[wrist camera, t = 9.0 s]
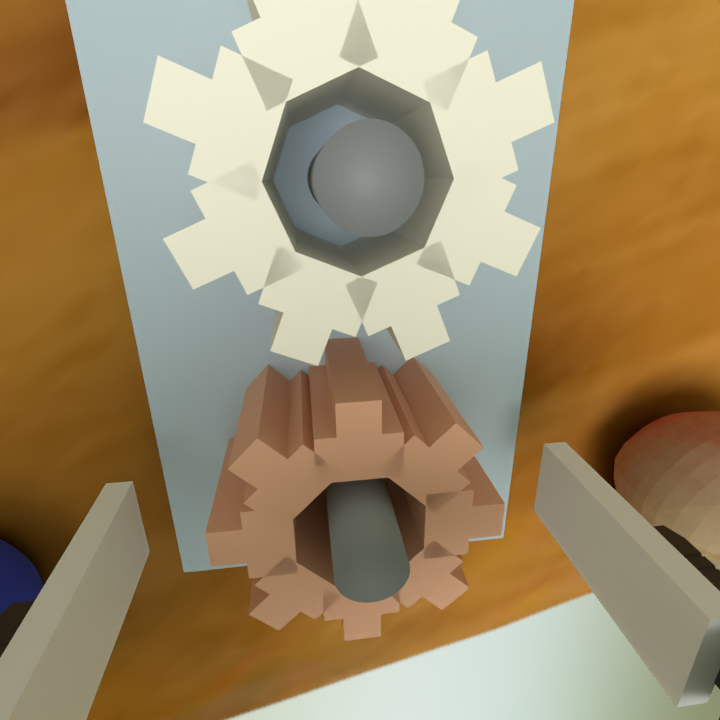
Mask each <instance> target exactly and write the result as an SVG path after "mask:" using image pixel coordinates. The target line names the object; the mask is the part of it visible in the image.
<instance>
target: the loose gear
mask: <svg viewBox="0 0 720 720" xmlns="http://www.w3.org/2000/svg"><path fill="white" fill-rule="evenodd" d="M483 448H484V447H483V445H482V444H481V443H480V441H479V440H478V438H477V437H476V435H475V434H474V432H473V431H472V430H471V428H470V427H469V425H468V424H467V422H466V421H465V419H464V418H463V417H462V415H461V414H460V412H459V411H458V409H457V408H456V406H455V405H454V404H453V402H452V401H451V399H450V398H449V396H448V395H447V394H446V392H445V391H444V389H443V388H442V386H441V385H440V383H439V382H438V381H437V379H436V378H435V376H434V375H433V374H432V373H431V372H430V371H429V370H428V369H426V368H425V367H424V366H423V365H422V364H421V363H420V362H419V361H418V360H417V359H416V358H414V357H413V358H411V359H409V360H408V361H407V362H406V363H405V364H404V365H403V366H402V367H400V368H399V369H398V370H397V371H396V372H395V373H394V374H392V373H391V372H390V371H389V370H388V369H387V368H385V367H384V366H383V365H381V366H380V367H379V368H378V369H377V367H376V364H375V362H369V363H368V362H367V360H366V357H365V354H364V352H363V349H362V347H361V344H360V341H359V339H358V337H353V338H334V339H328V342H327V344H326V347H325V365H320V366H309V376H308V375H307V374H306V373H304V372H303V371H302V370H300V371H299V372H298V373H297V374H296V375H295V376H294V377H293V379H292V380H291V381H289V380H288V379H286V378H285V377H284V376H283V375H281V374H280V373H279V372H277V371H276V370H275V369H274V368H272V367H271V366H270V365H269V364H268V365H267V366H266V367H265V369H264V370H263V371H262V372H261V373H260V374H259V375H258V376H257V377H256V378H255V379H254V380H253V381H252V382H251V383H250V385H249V386H248V387H247V388H246V392H245V396H244V401H243V405H242V409H241V413H240V418H239V422H238V426H237V430H236V435H235V437H234V438H229V442H228V446H227V450H226V454H225V458H224V461H223V465H222V469H221V473H220V477H219V481H218V485H217V489H216V493H215V497H214V501H213V505H212V508H211V512H210V516H209V520H208V524H207V528H206V532H205V536H206V542H207V547H208V553H209V559H210V564H211V567H215V566H224V565H233V564H242V563H247V567H248V574H249V579H251V578H252V586H251V595H250V604H249V614H248V615H250V616H252V617H254V618H256V619H258V620H260V621H262V622H264V623H265V624H267V625H269V626H271V627H273V628H275V629H277V630H280V629H282V628H283V627H284V626H285V625H286V624H287V623H288V622H289V621H290V620H292V619H293V618H294V617H295V616H296V615H297V614H298V613H299V612H302V613H304V614H306V615H308V616H309V617H311V618H313V619H316V618H318V617H319V616H320V615H321V614H322V613H323V612H324V621H330V620H338V619H342V624H343V634H344V641H348V640H356V639H364V638H371V637H379V636H381V614H386V613H394V612H400V603H401V604H403V605H404V606H406V607H407V608H409V607H410V606H411V605H413V604H414V603H415V602H416V601H417V600H418V599H420V598H421V597H423V598H425V599H426V600H428V601H429V602H431V603H432V604H434V605H435V606H437V607H438V608H440V609H441V610H443V609H444V608H445V607H447V606H448V605H449V604H450V603H452V602H453V601H454V600H455V599H456V598H458V597H459V596H460V595H461V594H462V593H464V592H465V591H466V590H467V589H468V588H469V585H468V583H467V580H466V578H465V576H464V573H463V571H462V569H461V566H460V564H461V563H462V562H463V559H462V557H461V555H464V554H468V547H469V539H472V538H482V537H491V536H500V535H501V531H502V523H503V515H504V508H505V503H504V501H503V500H502V498H501V496H500V495H499V493H498V492H497V490H496V489H495V487H494V485H493V484H492V482H491V481H490V479H489V478H488V476H487V475H486V473H485V471H484V470H483V468H482V467H481V465H480V464H479V462H478V460H477V459H476V457H475V455H476V454H477V453H478V452H479V451H480V450H481V449H483ZM378 478H385V482H386V485H387V489H388V492H389V495H390V499H391V502H392V506H393V509H394V512H395V516H396V519H397V523H398V526H399V529H400V533H401V536H402V540H403V543H404V547H405V550H406V553H407V557H408V560H409V564H410V574H409V578H408V580H407V582H406V583H405V585H404V586H403V587H402V588H401V589H400V590H399V591H398V592H397V593H396V594H394V595H392V596H391V597H389V598H387V599H384V600H381V601H377V602H370V603H362V602H356V601H353V600H350V599H348V598H346V597H345V596H343V595H342V594H341V593H340V592H339V591H338V590H337V588H336V586H335V583H334V574H333V564H332V553H331V543H330V532H329V521H328V511H327V500H326V489H325V488H326V487H327V486H329V485H330V484H331V483H334V482H345V481H356V480H367V479H378Z"/></svg>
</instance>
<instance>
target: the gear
mask: <svg viewBox="0 0 720 720" xmlns="http://www.w3.org/2000/svg"><path fill="white" fill-rule="evenodd" d="M459 1H460V0H247V3H248V7H249V10H250V14H251V18H252V22H250V23H248V24H246V25H244V26H242V27H240V28H238V29H236V30H234V31H231V32H232V34H233V37H234V39H235V41H236V43H237V46H238V48H239V50H240V52H241V54H242V55H240V54H238V53H236V52H234V51H232V50H230V49H227V48H225V47H223V46H220V50H219V54H218V58H217V62H216V66H215V70H214V74H213V78H212V79H209V78H207V77H205V76H203V75H201V74H198V73H196V72H194V71H192V70H190V69H187V68H185V67H183V66H181V65H178V64H176V63H174V62H172V61H170V60H167V59H165V58H163V57H161V56H159V55H158V56H157V61H156V66H155V70H154V75H153V79H152V84H151V89H150V93H149V98H148V102H147V107H146V112H145V116H144V121H143V123H146V124H148V125H151V126H153V127H155V128H158V129H160V130H163V131H165V132H167V133H170V134H172V135H175V136H177V137H180V138H182V139H184V140H187V141H189V142H192V143H194V144H196V145H195V149H194V153H193V156H192V160H191V164H190V168H189V172H188V175H191V176H193V177H196V178H198V179H201V180H203V181H206V182H208V183H205V184H203V185H201V186H199V187H197V188H195V189H193V190H191V193H192V195H193V197H194V199H195V200H196V202H197V204H198V206H199V208H200V210H201V211H202V213H203V215H204V217H205V219H204V220H202V221H200V222H197V223H195V224H193V225H191V226H189V227H187V228H185V229H183V230H180V231H178V232H176V233H174V234H172V235H170V236H168V237H166V238H163V240H164V242H165V243H166V245H167V247H168V248H169V250H170V252H171V253H172V255H173V257H174V258H175V260H176V262H177V263H178V265H179V267H180V268H181V270H182V272H183V273H184V275H185V277H186V278H187V280H188V282H189V283H190V285H191V287H192V289H193V290H194V289H196V288H198V287H200V286H202V285H205V284H207V283H209V282H211V281H213V280H215V279H217V278H220V277H222V276H224V275H226V274H228V273H230V272H233V271H234V272H235V273H236V275H237V277H238V279H239V281H240V283H241V284H242V286H243V288H244V290H245V292H246V293H247V295H249V294H251V293H253V292H255V291H257V290H259V289H262V288H263V290H262V293H261V296H260V300H259V303H258V304H260V305H262V306H265V307H268V308H271V309H274V310H276V316H275V322H274V329H273V336H272V342H271V349H270V351H271V352H275V353H278V354H281V355H284V356H287V357H291V358H294V359H297V360H300V361H303V362H306V363H310V364H313V365H316V366H318V365H319V362H320V360H321V357H322V355H323V352H324V349H325V347H326V344H327V342H328V339H329V336H330V334H331V331H332V329H333V330H336V331H339V332H342V333H345V334H348V335H351V336H354V337H356V335H357V333H358V330H359V328H360V325H361V323H363V325H364V328H365V330H366V332H367V334H368V336H370V335H373V334H375V333H377V332H379V331H381V330H384V329H386V328H387V330H388V332H389V333H390V335H391V337H392V338H393V340H394V342H395V343H396V345H397V347H398V348H399V350H400V352H401V353H402V355H403V357H404V358H405V360H409V359H411V358H413V357H415V356H417V355H420V354H422V353H424V352H426V351H429V350H431V349H433V348H435V347H438V346H440V345H442V344H444V343H446V342H449V341H450V339H449V337H448V334H447V331H446V328H445V326H444V323H443V320H442V318H441V315H440V312H439V310H438V307H437V305H439V304H441V303H443V302H445V301H448V300H450V299H452V298H454V297H457V296H459V295H460V294H459V291H458V288H457V285H456V282H455V280H457V281H459V282H462V283H464V284H467V285H470V283H471V281H472V279H473V277H474V275H475V273H476V271H477V269H478V266H479V264H480V262H483V263H485V264H488V265H490V266H492V267H495V268H497V269H500V270H502V271H504V272H507V273H509V274H512V275H514V276H517V274H518V273H519V271H520V269H521V267H522V265H523V263H524V261H525V259H526V257H527V255H528V253H529V251H530V249H531V247H532V245H533V243H534V241H535V239H536V237H537V235H538V233H539V231H540V229H541V228H540V227H538V226H535V225H533V224H531V223H529V222H527V221H524V220H522V219H520V218H518V217H515V216H513V215H511V214H509V213H507V212H504V211H505V209H506V207H507V205H508V203H509V201H510V199H511V197H512V195H513V192H514V190H515V188H516V186H517V185H516V184H514V183H511V182H509V181H507V180H505V179H503V177H505V176H507V175H509V174H511V173H513V172H516V171H518V166H517V162H516V158H515V154H514V150H513V147H512V143H511V142H513V141H515V140H517V139H519V138H522V137H524V136H526V135H528V134H530V133H532V132H535V131H537V130H539V129H541V128H543V127H545V126H548V125H550V124H552V123H554V117H553V113H552V108H551V103H550V99H549V94H548V90H547V85H546V81H545V76H544V71H543V67H542V62H541V61H540V62H538V63H536V64H534V65H532V66H530V67H528V68H526V69H523V70H521V71H519V72H517V73H515V74H513V75H511V76H508V77H506V78H504V79H502V80H500V81H498V82H496V81H495V77H494V73H493V69H492V65H491V61H490V58H489V54H488V50H487V51H485V52H483V53H481V54H478V55H476V56H474V57H472V58H470V55H471V53H472V50H473V48H474V45H475V43H476V40H477V38H478V37H477V36H475V35H474V34H472V33H470V32H468V31H466V30H465V29H463V28H461V27H459V26H457V25H455V24H454V23H452V19H453V17H454V14H455V12H456V9H457V6H458V4H459ZM469 58H470V59H469ZM337 104H338V105H340V106H342V107H344V108H346V109H349V110H351V111H353V112H355V113H357V114H359V115H361V116H364V117H366V118H368V119H379V120H383V121H387V122H389V123H392V124H394V125H395V126H397V127H399V128H400V129H402V130H403V131H404V132H405V133H406V134H407V135H408V136H409V137H410V138H411V139H412V141H413V142H414V143H415V145H416V147H417V149H418V150H419V153H420V155H421V158H422V162H423V167H424V188H423V193H422V197H421V199H420V202H419V204H418V206H417V208H416V210H415V211H414V213H413V215H412V216H411V217H410V218H409V219H408V220H407V221H406V222H405V223H404V224H403V225H402V226H401V227H399V228H398V229H396V230H394V231H393V232H391V233H388V234H385V235H382V236H377V237H360V238H358V239H356V240H354V241H352V242H349V243H347V244H345V245H343V246H340V245H337V244H335V243H332V242H330V241H327V240H324V239H322V238H319V237H317V236H314V235H311V234H309V233H306V232H304V231H301V230H299V229H296V228H295V226H294V224H293V222H292V219H291V217H290V215H289V213H288V211H287V209H286V207H285V205H284V202H283V200H282V198H281V196H280V194H279V192H278V190H277V188H276V185H275V183H274V181H273V178H274V175H275V172H276V169H277V165H278V162H279V159H280V156H281V152H282V149H283V146H284V143H285V140H286V136H287V133H288V130H289V127H291V126H293V125H295V124H297V123H299V122H301V121H303V120H305V119H307V118H310V117H312V116H314V115H316V114H318V113H320V112H322V111H324V110H326V109H329V108H331V107H333V106H335V105H337Z"/></svg>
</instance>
